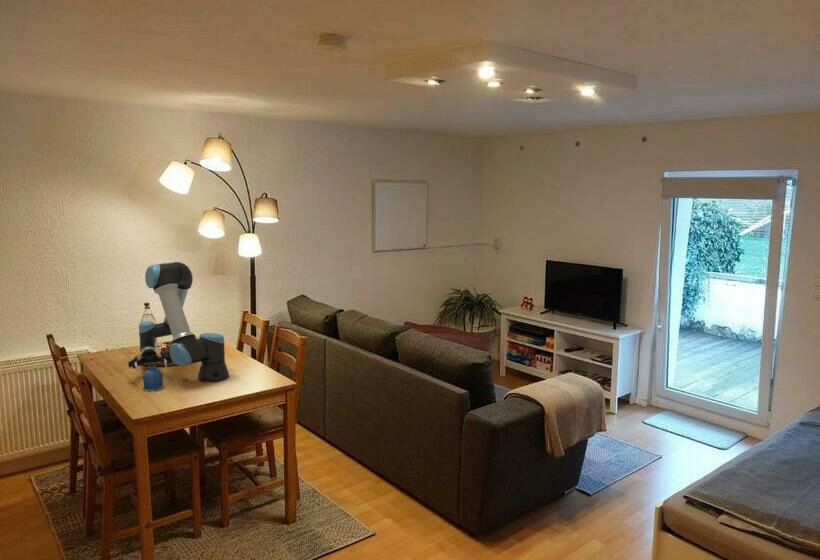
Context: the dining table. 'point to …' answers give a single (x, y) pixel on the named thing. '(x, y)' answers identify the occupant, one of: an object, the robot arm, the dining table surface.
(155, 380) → the perfume bottle
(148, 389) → the coaster
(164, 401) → the dining table surface
